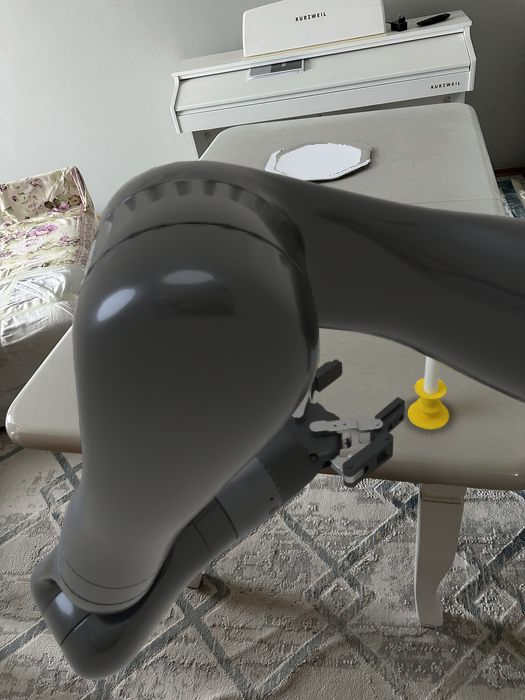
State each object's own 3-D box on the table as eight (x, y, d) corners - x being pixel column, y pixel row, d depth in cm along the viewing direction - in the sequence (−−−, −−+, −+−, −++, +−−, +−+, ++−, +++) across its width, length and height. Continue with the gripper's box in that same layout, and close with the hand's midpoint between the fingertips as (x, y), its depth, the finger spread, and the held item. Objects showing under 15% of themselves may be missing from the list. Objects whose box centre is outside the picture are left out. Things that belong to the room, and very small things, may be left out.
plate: (308, 195, 125) (308, 189, 124) (249, 167, 144) (248, 162, 143) (393, 157, 134) (393, 152, 133) (327, 136, 153) (326, 131, 152)
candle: (445, 401, 70) (455, 309, 60) (452, 431, 66) (464, 338, 56) (405, 402, 71) (409, 311, 61) (410, 432, 67) (414, 340, 57)
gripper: (301, 501, 41) (428, 391, 48) (200, 410, 50) (319, 329, 57) (309, 549, 46) (423, 443, 53) (215, 458, 55) (323, 378, 62)
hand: (369, 384), depth 55 cm, fingers open, 8 cm apart
